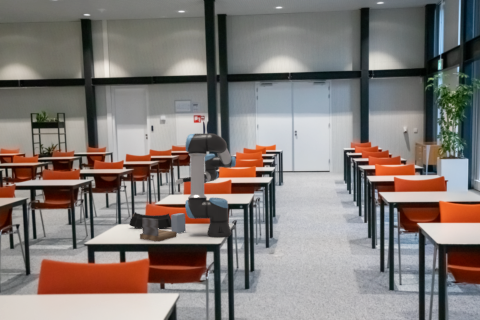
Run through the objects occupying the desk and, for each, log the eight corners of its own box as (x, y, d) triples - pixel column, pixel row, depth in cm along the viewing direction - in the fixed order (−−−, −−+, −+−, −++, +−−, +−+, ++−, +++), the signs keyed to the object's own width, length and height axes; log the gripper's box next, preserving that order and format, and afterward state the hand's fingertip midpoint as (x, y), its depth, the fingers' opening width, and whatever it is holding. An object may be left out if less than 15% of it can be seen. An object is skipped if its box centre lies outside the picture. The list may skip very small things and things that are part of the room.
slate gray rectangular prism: (185, 231, 345) (185, 213, 344) (177, 233, 338) (176, 215, 337) (179, 231, 348) (179, 213, 347) (171, 233, 341) (171, 214, 340)
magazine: (176, 215, 356) (136, 202, 361) (174, 216, 353) (134, 203, 358) (170, 239, 358) (130, 226, 363) (168, 240, 355) (128, 227, 360)
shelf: (176, 236, 329) (175, 216, 328) (158, 241, 316) (158, 220, 315) (158, 234, 338) (157, 214, 338) (140, 238, 325) (139, 218, 325)
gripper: (218, 184, 359) (200, 189, 341) (188, 182, 372) (170, 187, 354) (217, 173, 358) (200, 178, 340) (188, 171, 371) (169, 176, 353)
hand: (184, 182), depth 347 cm, fingers open, 13 cm apart
